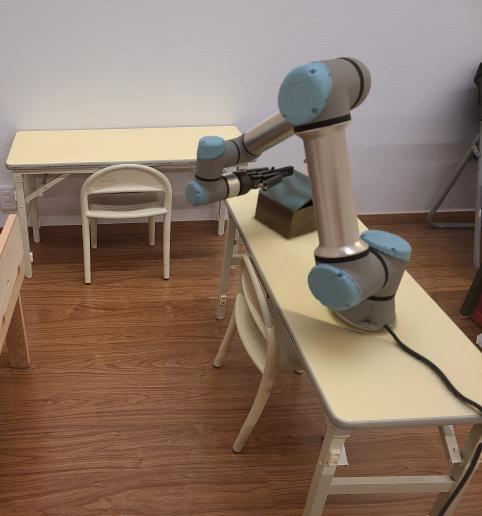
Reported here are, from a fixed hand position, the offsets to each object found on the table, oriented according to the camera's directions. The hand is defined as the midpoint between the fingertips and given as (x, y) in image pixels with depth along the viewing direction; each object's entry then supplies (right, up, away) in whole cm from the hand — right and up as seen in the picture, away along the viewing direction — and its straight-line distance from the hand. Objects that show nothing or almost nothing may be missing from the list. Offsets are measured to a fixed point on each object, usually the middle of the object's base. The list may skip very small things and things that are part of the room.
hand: (291, 170), depth 158 cm
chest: (+2, -16, +12) cm, 20 cm away
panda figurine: (+13, -8, +26) cm, 29 cm away
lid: (+2, -6, +5) cm, 8 cm away
